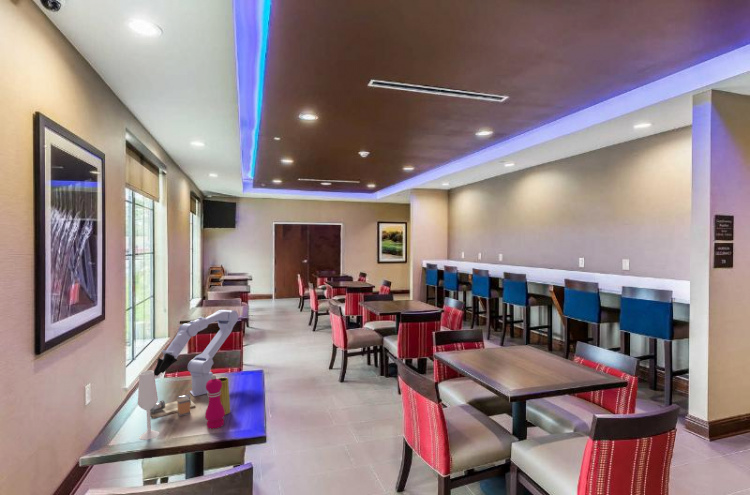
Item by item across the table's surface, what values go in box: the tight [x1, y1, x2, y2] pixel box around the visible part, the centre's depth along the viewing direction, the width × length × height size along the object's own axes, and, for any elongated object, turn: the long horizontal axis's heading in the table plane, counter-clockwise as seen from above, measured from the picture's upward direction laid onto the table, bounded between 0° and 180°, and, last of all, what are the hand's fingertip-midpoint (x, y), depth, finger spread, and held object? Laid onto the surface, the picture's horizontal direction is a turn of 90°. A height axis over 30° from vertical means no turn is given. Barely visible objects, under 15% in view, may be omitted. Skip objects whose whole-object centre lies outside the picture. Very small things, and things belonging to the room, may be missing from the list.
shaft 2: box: [176, 393, 192, 403], centre depth 184 cm, size 5×4×5 cm
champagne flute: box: [137, 370, 160, 441], centre depth 156 cm, size 7×7×24 cm
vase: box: [217, 377, 231, 416], centre depth 175 cm, size 6×6×14 cm
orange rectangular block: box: [176, 397, 191, 417], centre depth 175 cm, size 4×4×6 cm
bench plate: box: [150, 400, 196, 419], centre depth 181 cm, size 17×11×1 cm, turn 127°
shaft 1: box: [150, 400, 166, 414], centre depth 176 cm, size 5×4×5 cm
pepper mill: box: [204, 374, 226, 430], centre depth 163 cm, size 7×7×20 cm
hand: (157, 373), depth 178 cm, fingers open, 7 cm apart
